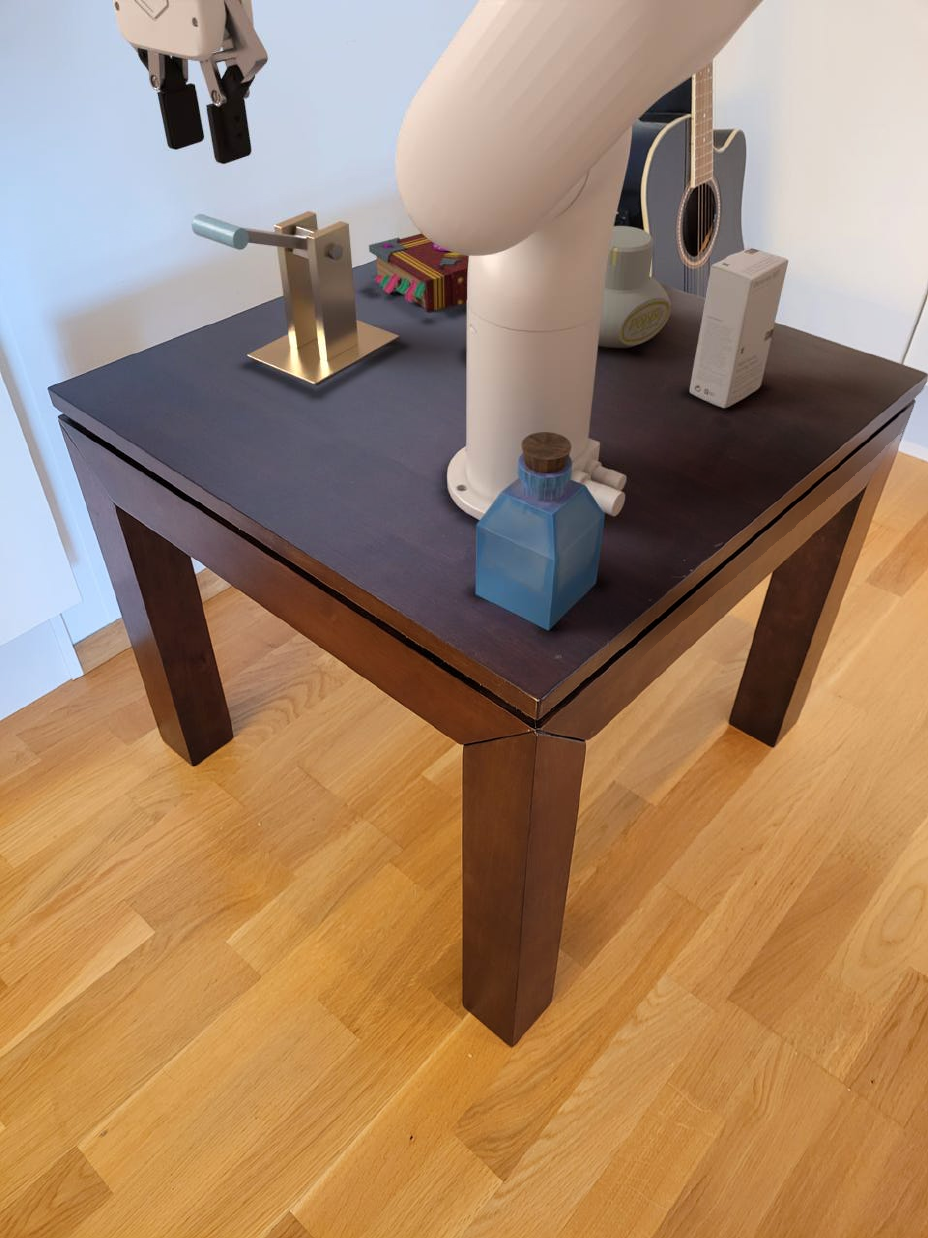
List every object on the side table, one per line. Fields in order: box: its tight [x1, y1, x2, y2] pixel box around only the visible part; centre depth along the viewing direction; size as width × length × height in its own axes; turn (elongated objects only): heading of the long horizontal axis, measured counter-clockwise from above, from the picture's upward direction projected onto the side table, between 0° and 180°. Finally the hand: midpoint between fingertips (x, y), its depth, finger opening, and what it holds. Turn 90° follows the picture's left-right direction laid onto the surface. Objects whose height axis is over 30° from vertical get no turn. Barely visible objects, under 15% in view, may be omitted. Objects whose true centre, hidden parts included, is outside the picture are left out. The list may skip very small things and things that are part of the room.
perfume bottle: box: [475, 432, 606, 632], centre depth 64 cm, size 6×6×12 cm
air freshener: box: [598, 225, 672, 349], centre depth 93 cm, size 11×8×10 cm
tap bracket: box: [246, 210, 400, 387], centre depth 89 cm, size 12×9×13 cm
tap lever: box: [191, 213, 320, 259], centre depth 81 cm, size 13×5×2 cm, turn 142°
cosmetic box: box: [689, 247, 789, 409], centre depth 84 cm, size 6×4×12 cm
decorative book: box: [368, 231, 469, 314], centre depth 103 cm, size 11×16×5 cm
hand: (209, 148), depth 73 cm, fingers open, 4 cm apart
